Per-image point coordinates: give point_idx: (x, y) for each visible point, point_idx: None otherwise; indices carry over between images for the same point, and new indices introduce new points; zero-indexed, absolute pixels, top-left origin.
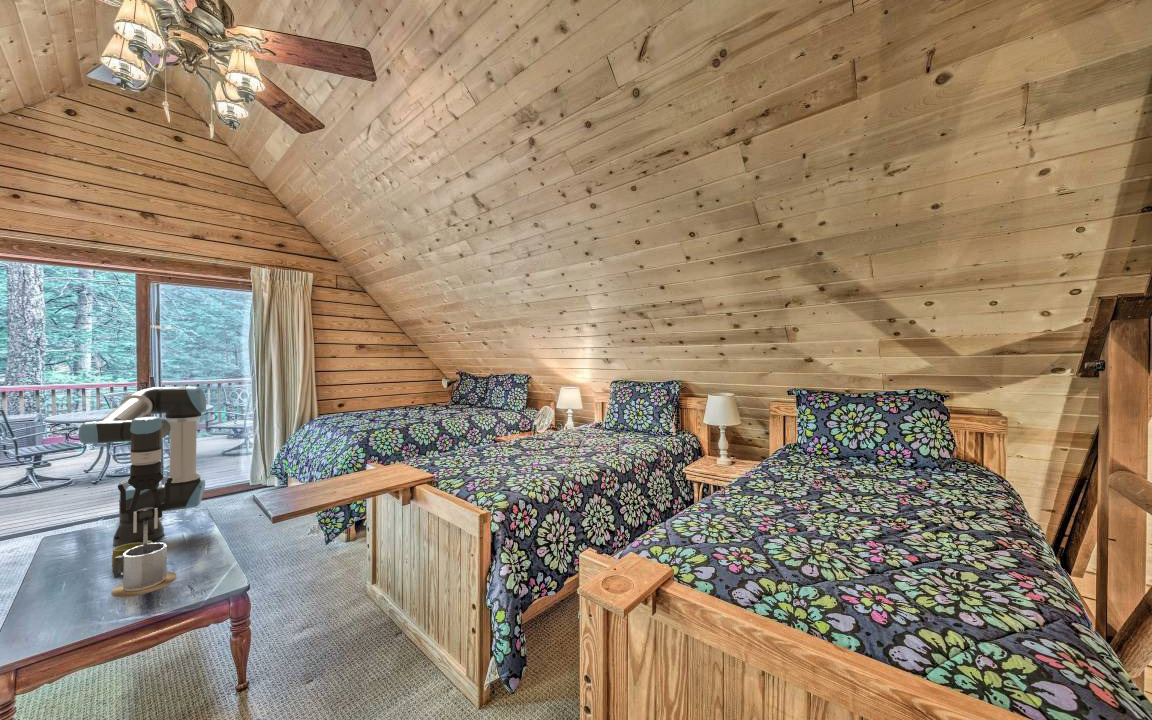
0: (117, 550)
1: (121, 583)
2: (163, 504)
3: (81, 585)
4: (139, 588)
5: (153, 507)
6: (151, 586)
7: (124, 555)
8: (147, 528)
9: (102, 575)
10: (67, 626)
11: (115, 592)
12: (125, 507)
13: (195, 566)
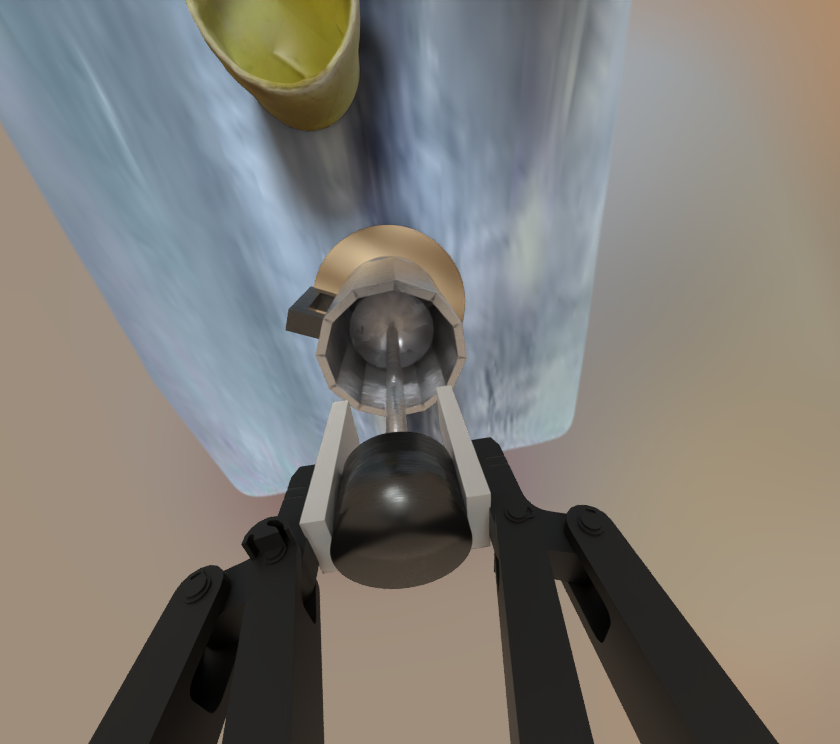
0: (223, 59)
1: (324, 262)
2: (551, 567)
3: (186, 166)
4: None
5: (462, 521)
6: None
7: (328, 380)
8: (405, 419)
9: (220, 90)
10: (282, 432)
11: None
12: (229, 694)
13: (514, 241)
